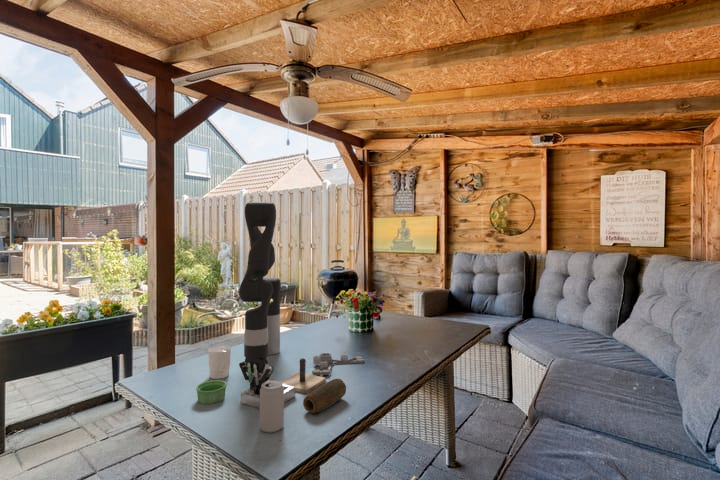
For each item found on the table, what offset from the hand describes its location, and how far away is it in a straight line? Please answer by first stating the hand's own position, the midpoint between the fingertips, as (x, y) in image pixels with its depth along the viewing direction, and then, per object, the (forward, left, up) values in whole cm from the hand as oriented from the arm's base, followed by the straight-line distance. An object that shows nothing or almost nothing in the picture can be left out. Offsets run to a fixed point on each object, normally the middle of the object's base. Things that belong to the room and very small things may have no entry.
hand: (256, 394), depth 120 cm
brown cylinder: (+23, +5, -1) cm, 24 cm away
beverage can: (+18, -13, -1) cm, 22 cm away
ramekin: (-11, -8, -1) cm, 14 cm away
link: (+5, 0, -1) cm, 5 cm away
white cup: (-24, +7, -1) cm, 25 cm away
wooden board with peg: (+8, +15, -1) cm, 17 cm away
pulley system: (+7, +37, -1) cm, 37 cm away
